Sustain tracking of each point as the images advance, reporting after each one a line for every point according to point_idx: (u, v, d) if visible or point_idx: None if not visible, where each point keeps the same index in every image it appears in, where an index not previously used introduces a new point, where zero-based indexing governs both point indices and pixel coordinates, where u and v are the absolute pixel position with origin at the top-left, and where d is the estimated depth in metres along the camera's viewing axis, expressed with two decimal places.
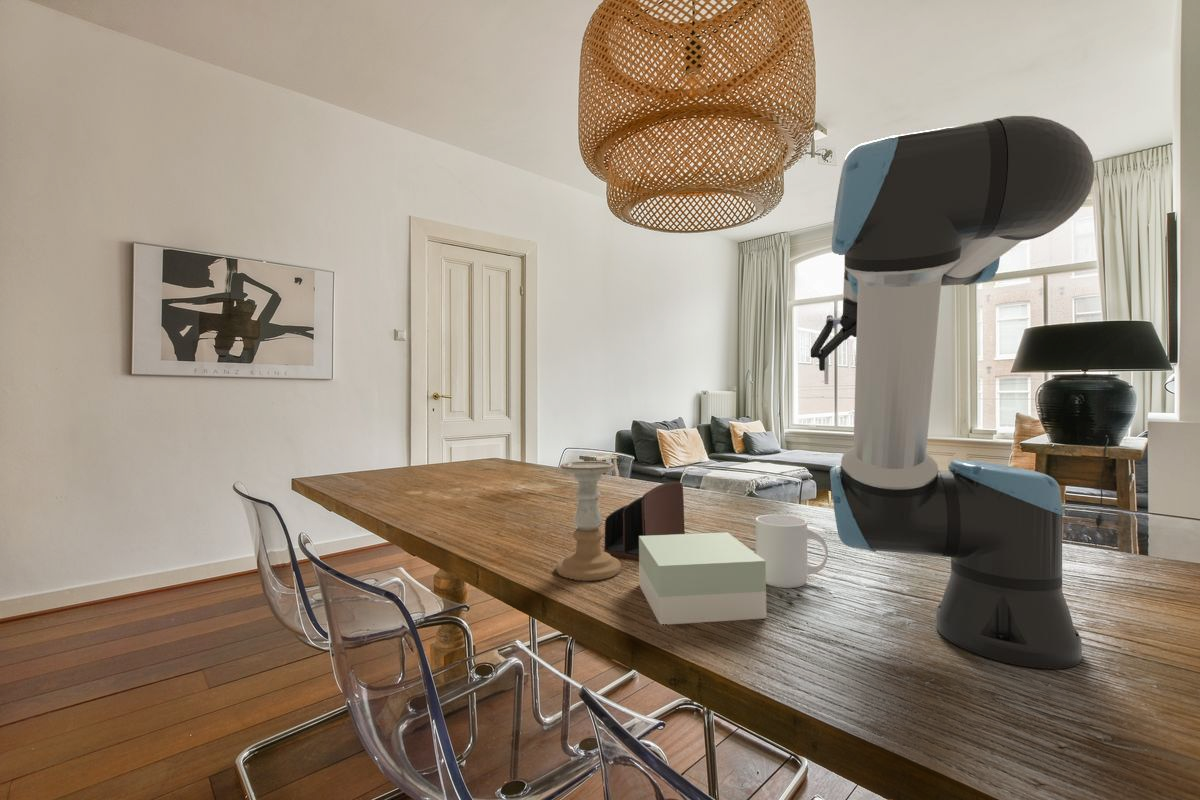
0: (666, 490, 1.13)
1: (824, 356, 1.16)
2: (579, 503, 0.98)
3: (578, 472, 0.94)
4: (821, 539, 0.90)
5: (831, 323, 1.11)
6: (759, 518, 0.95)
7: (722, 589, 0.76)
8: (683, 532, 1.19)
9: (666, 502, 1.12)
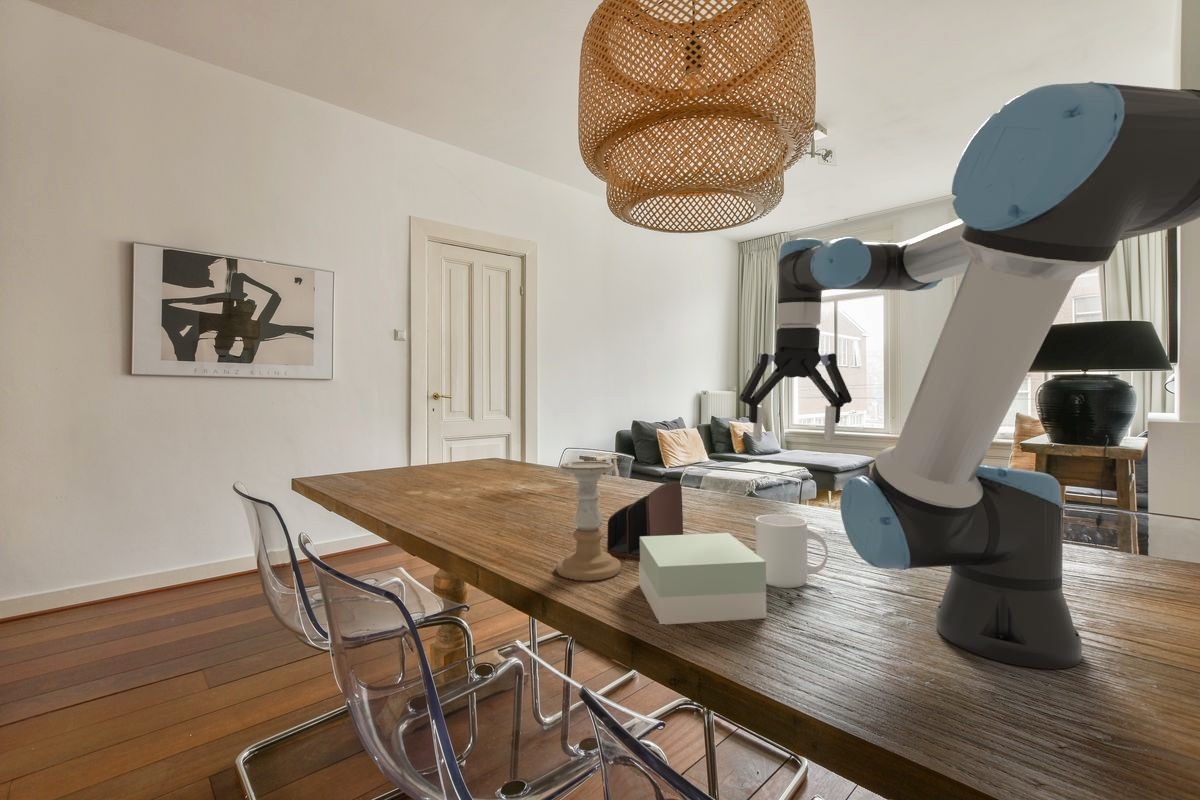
0: (667, 490, 1.13)
1: (757, 401, 0.96)
2: (579, 503, 0.98)
3: (578, 472, 0.94)
4: (821, 539, 0.90)
5: (766, 357, 0.95)
6: (759, 518, 0.95)
7: (722, 589, 0.76)
8: (682, 532, 1.20)
9: (667, 502, 1.12)
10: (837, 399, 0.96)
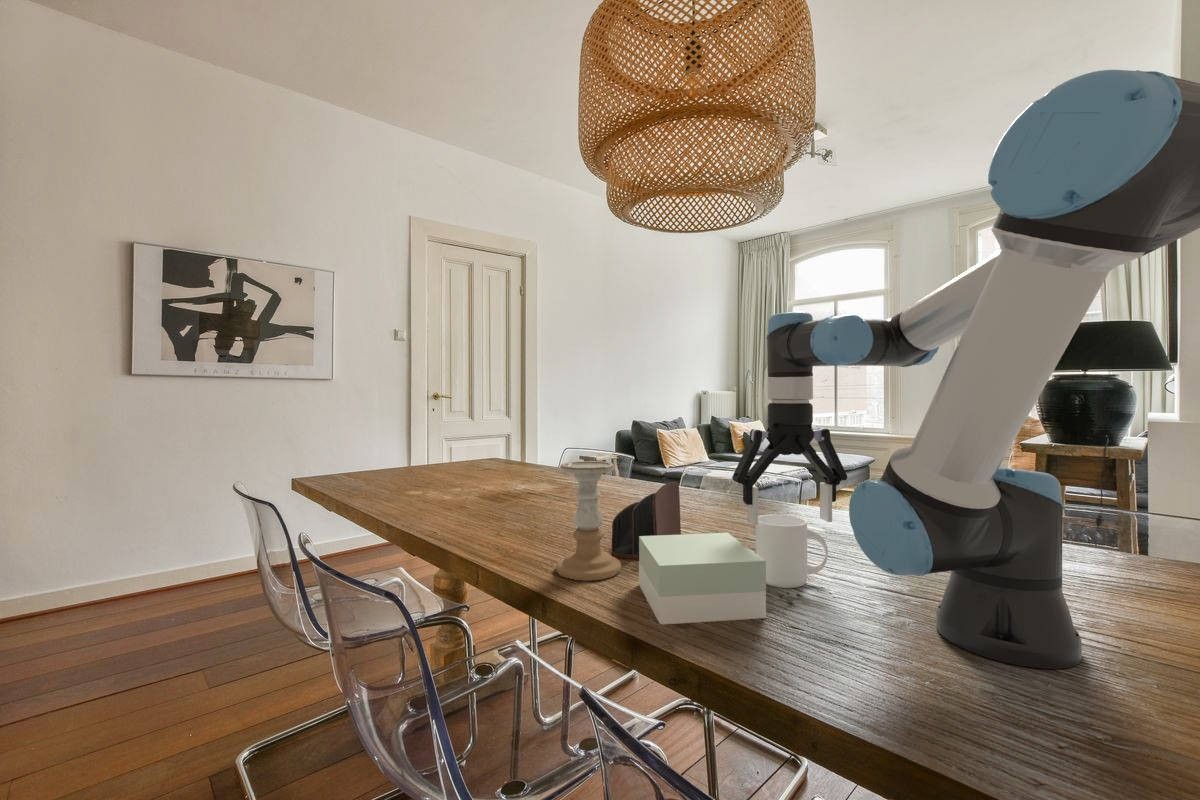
0: (668, 490, 1.13)
1: (753, 481, 0.90)
2: (579, 503, 0.98)
3: (578, 472, 0.94)
4: (821, 539, 0.90)
5: (760, 434, 0.90)
6: (759, 518, 0.95)
7: (722, 589, 0.76)
8: (680, 531, 1.20)
9: (669, 502, 1.13)
10: (833, 477, 0.92)
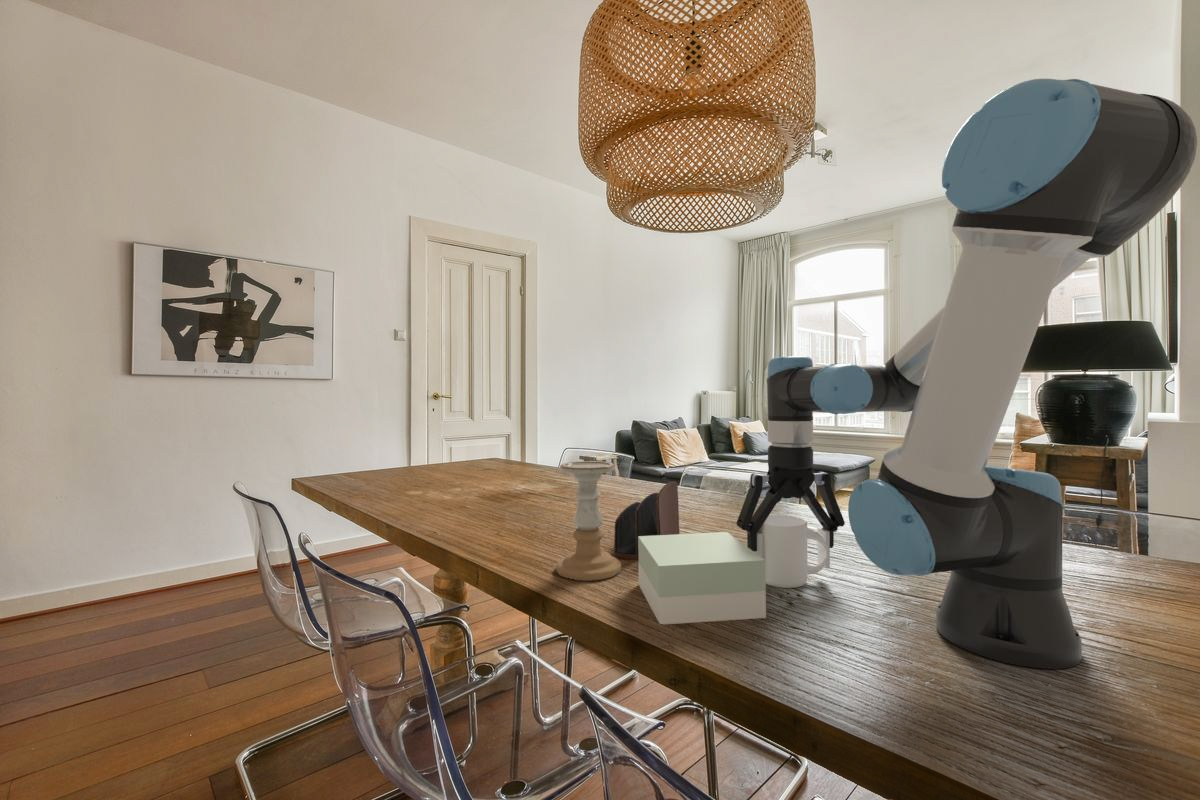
0: (669, 490, 1.13)
1: (757, 528, 0.90)
2: (579, 503, 0.98)
3: (578, 472, 0.94)
4: (821, 539, 0.90)
5: (761, 479, 0.90)
6: None
7: (722, 588, 0.76)
8: (678, 531, 1.21)
9: (669, 501, 1.13)
10: (831, 523, 0.91)
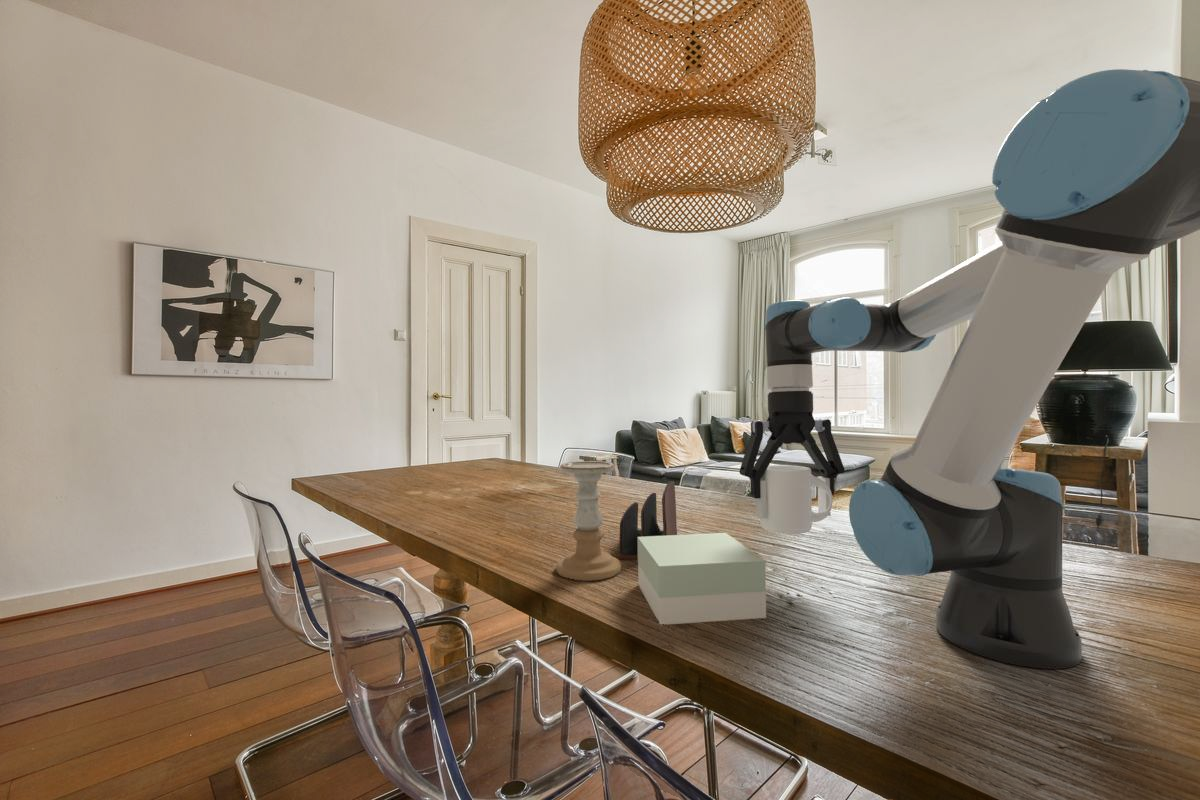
0: (670, 489, 1.13)
1: (760, 474, 0.89)
2: (579, 503, 0.98)
3: (578, 472, 0.94)
4: (825, 486, 0.89)
5: (761, 424, 0.90)
6: None
7: (722, 589, 0.76)
8: (676, 530, 1.21)
9: (670, 501, 1.13)
10: (831, 470, 0.91)
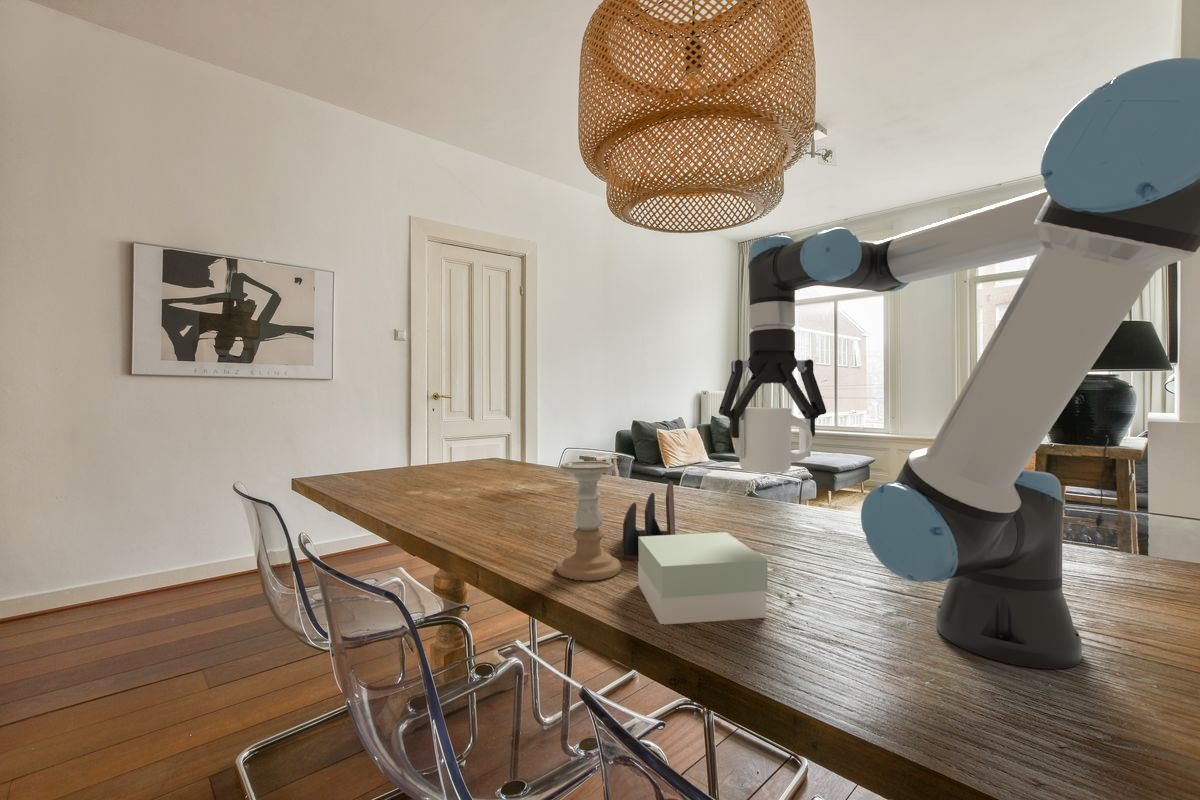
0: None
1: (739, 413, 0.89)
2: (579, 503, 0.98)
3: (578, 472, 0.94)
4: (805, 426, 0.88)
5: (741, 363, 0.89)
6: None
7: (724, 588, 0.76)
8: (674, 530, 1.21)
9: (671, 501, 1.13)
10: (812, 411, 0.90)
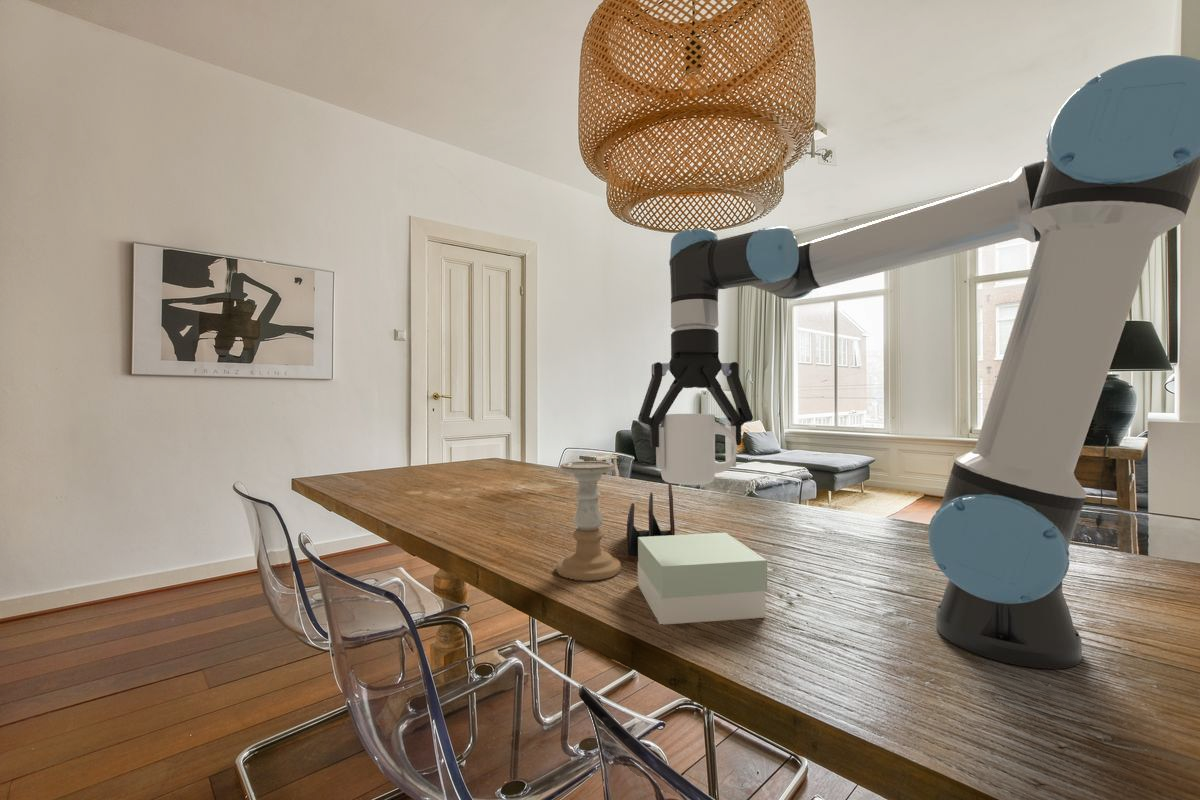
0: None
1: (658, 421, 0.82)
2: (579, 503, 0.98)
3: (578, 472, 0.94)
4: (729, 433, 0.82)
5: (660, 366, 0.82)
6: None
7: (724, 588, 0.76)
8: None
9: None
10: (737, 417, 0.83)
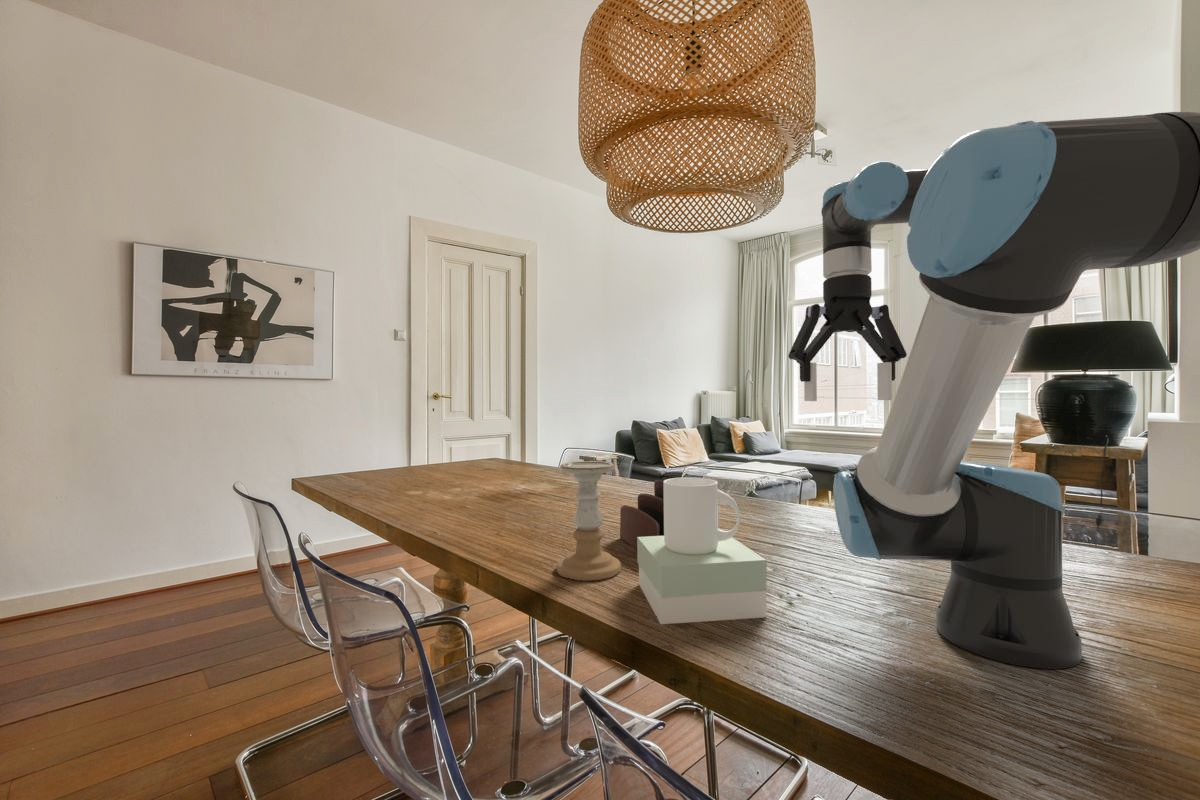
0: None
1: (811, 356, 0.87)
2: (579, 503, 0.98)
3: (578, 472, 0.94)
4: (732, 502, 0.81)
5: (818, 308, 0.88)
6: (670, 480, 0.86)
7: (723, 588, 0.76)
8: None
9: None
10: (892, 354, 0.89)
